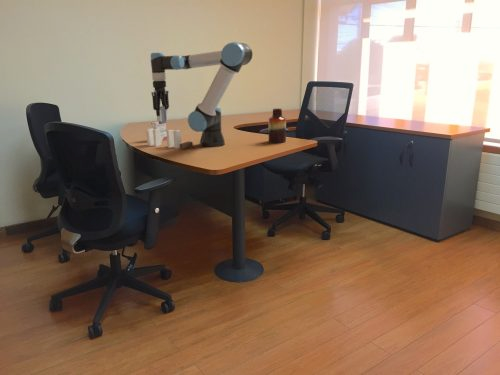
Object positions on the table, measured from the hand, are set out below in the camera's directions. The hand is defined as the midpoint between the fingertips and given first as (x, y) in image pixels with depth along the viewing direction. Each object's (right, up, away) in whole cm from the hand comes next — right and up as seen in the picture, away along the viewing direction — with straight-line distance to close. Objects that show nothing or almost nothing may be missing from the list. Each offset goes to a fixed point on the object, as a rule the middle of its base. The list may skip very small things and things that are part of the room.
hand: (162, 120), depth 252 cm
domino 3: (0, -2, +1) cm, 2 cm away
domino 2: (-4, -14, +7) cm, 16 cm away
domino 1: (-9, -14, +9) cm, 19 cm away
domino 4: (+5, -15, +3) cm, 16 cm away
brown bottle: (+69, -11, +14) cm, 72 cm away
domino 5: (+9, -16, +1) cm, 18 cm away
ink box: (-7, -9, +24) cm, 27 cm away
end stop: (+15, -16, -2) cm, 22 cm away
